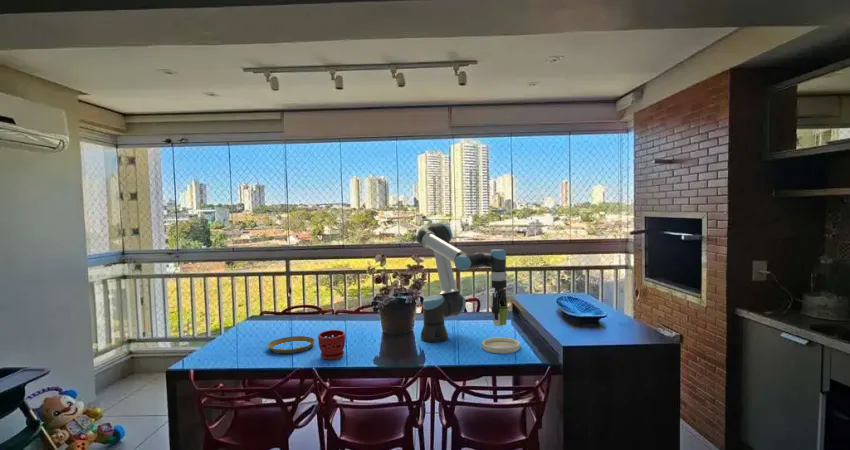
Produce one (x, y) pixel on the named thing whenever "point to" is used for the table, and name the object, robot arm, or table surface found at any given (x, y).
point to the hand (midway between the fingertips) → (500, 323)
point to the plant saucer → (289, 339)
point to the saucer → (500, 345)
